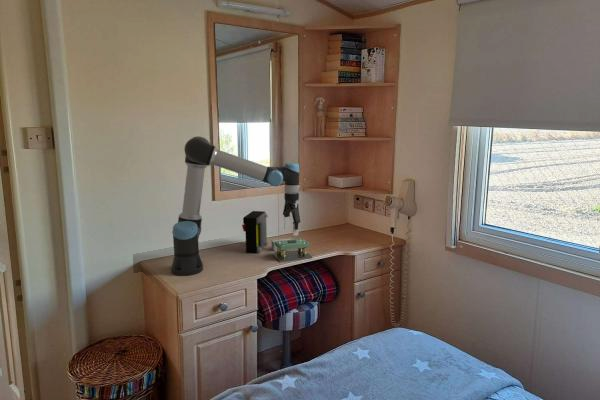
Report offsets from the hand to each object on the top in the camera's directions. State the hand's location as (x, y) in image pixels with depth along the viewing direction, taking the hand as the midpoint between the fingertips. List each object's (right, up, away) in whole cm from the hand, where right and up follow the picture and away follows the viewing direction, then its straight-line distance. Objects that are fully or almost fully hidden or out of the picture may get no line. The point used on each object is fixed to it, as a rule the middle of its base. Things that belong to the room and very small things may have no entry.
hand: (291, 232), depth 231 cm
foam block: (-5, -11, +16) cm, 20 cm away
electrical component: (-20, -11, +17) cm, 29 cm away
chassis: (0, -13, +3) cm, 14 cm away
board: (0, -8, +1) cm, 8 cm away
